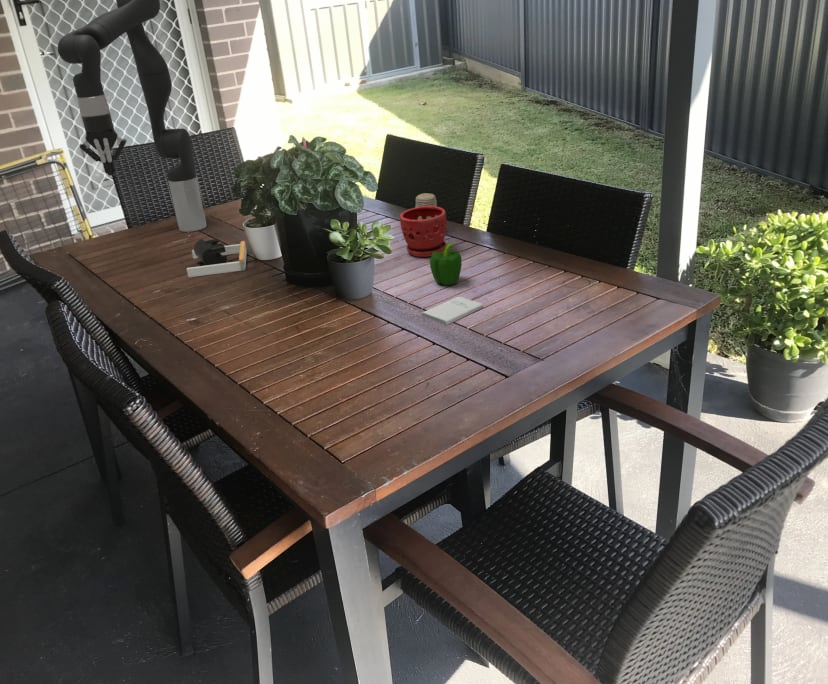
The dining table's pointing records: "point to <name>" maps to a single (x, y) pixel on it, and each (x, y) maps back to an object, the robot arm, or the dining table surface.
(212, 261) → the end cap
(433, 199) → the carving
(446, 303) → the external hard drive
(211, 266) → the frame
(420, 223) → the plant pot
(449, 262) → the bell pepper
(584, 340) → the dining table surface
